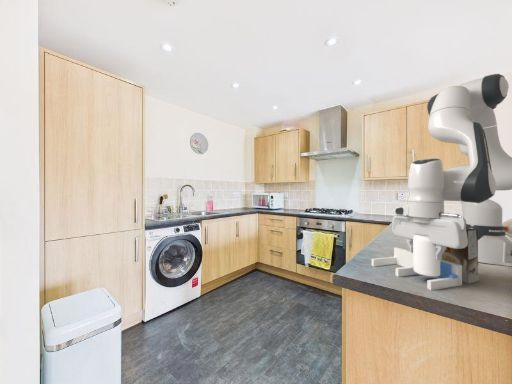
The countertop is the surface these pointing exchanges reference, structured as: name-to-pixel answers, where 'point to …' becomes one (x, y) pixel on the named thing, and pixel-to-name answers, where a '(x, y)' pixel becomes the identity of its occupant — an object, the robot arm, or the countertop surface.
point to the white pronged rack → (402, 257)
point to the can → (425, 257)
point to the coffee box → (465, 257)
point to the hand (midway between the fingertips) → (424, 255)
